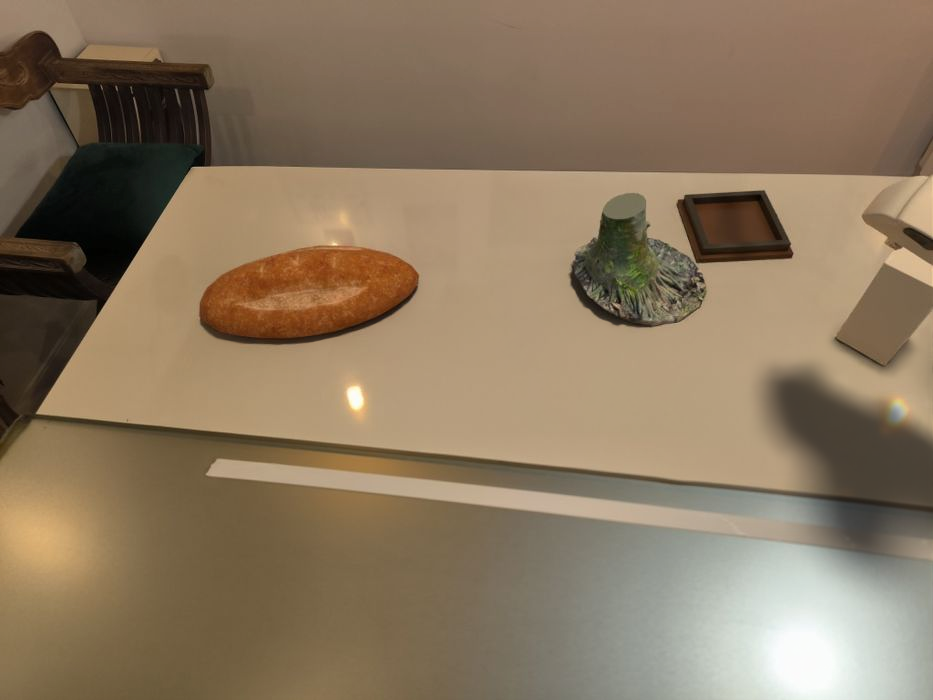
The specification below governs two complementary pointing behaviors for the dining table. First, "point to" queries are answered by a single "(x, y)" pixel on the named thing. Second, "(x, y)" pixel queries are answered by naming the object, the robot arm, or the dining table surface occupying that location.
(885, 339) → the milk carton
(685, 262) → the tree stump
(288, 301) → the bread
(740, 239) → the tray
